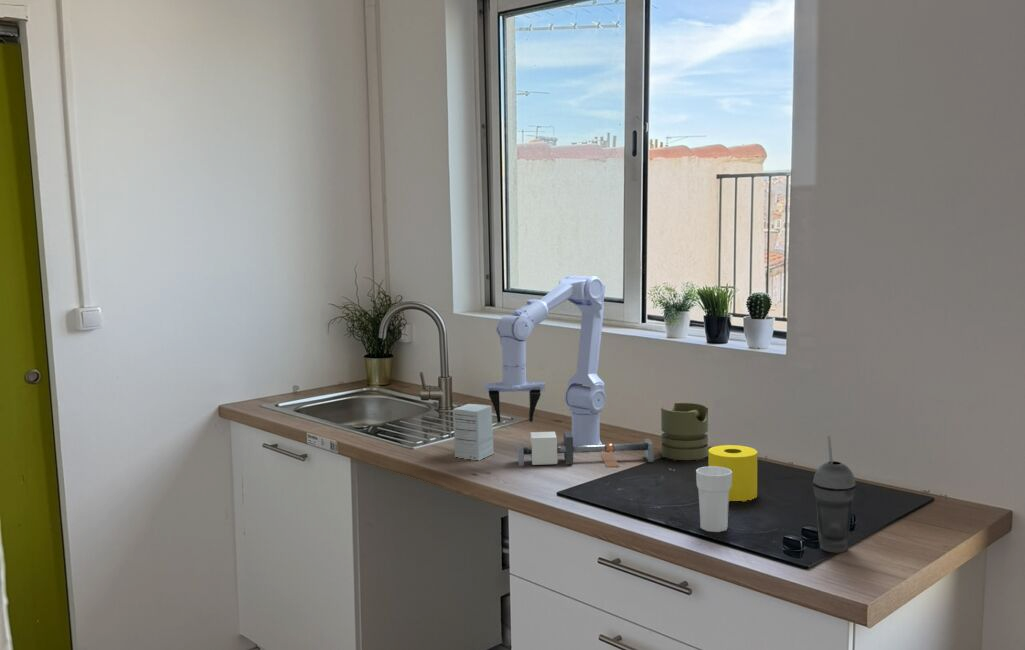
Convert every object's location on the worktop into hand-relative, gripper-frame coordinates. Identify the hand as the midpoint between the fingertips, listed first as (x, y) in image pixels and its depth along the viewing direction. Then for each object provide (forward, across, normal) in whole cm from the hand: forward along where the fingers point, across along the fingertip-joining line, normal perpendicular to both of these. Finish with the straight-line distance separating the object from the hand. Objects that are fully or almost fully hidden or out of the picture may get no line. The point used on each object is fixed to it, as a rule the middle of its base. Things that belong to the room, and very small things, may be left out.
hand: (514, 421), depth 224 cm
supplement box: (+11, -10, +9) cm, 18 cm away
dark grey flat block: (+10, +13, 0) cm, 17 cm away
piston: (+10, +42, +3) cm, 43 cm away
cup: (+11, +36, -50) cm, 62 cm away
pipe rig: (+10, +17, 0) cm, 20 cm away
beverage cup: (+11, +54, -63) cm, 83 cm away
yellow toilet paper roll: (+11, +45, -30) cm, 55 cm away
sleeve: (+10, +7, 0) cm, 13 cm away
